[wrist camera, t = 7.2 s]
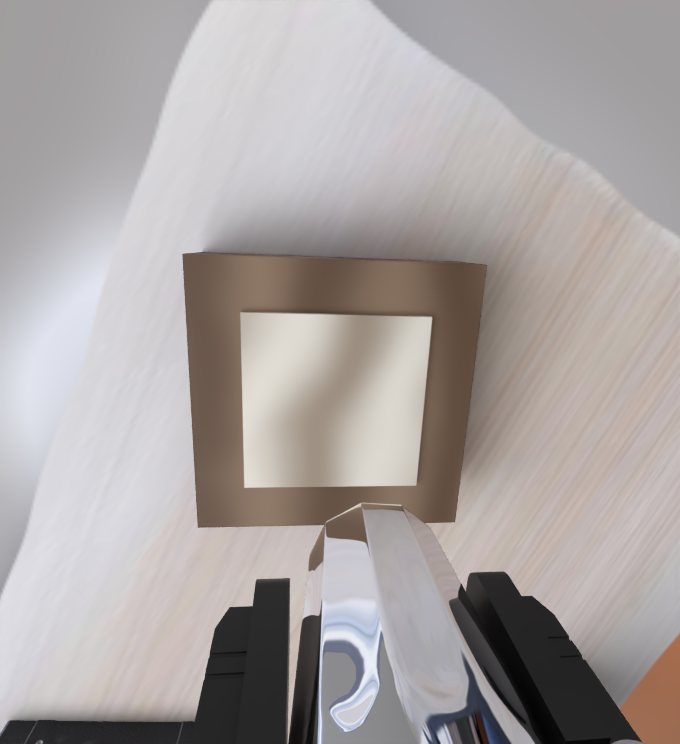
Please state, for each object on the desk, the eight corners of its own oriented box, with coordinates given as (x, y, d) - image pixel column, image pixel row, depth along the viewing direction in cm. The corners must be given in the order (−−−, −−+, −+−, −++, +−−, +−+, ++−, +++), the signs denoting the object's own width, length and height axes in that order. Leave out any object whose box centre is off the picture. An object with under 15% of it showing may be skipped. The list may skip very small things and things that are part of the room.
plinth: (457, 261, 25) (489, 265, 21) (434, 485, 29) (456, 525, 25) (201, 252, 24) (180, 253, 19) (212, 488, 27) (196, 530, 23)
